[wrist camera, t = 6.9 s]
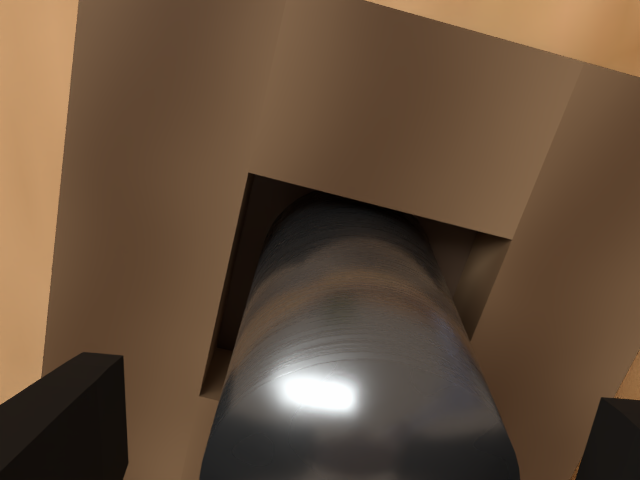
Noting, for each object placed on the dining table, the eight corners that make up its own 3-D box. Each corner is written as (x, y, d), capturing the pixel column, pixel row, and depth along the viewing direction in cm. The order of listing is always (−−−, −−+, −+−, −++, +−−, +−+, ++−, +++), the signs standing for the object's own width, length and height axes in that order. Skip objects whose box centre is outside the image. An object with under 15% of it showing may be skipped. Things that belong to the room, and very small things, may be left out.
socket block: (687, 93, 13) (766, 113, 11) (490, 505, 17) (514, 583, 15) (135, -62, 12) (86, -78, 10) (74, 412, 16) (30, 480, 14)
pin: (449, 199, 13) (562, 386, 7) (412, 351, 15) (475, 625, 8) (271, 172, 13) (213, 336, 7) (251, 328, 15) (187, 589, 8)
